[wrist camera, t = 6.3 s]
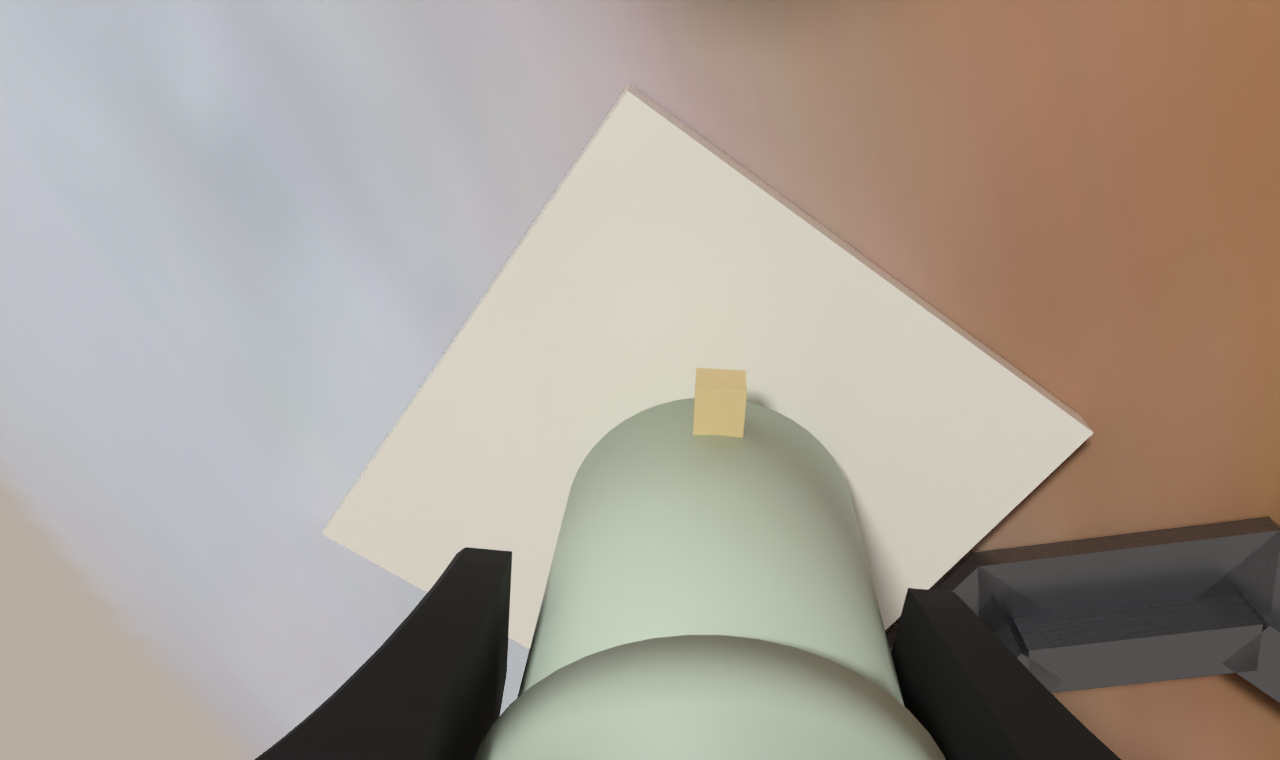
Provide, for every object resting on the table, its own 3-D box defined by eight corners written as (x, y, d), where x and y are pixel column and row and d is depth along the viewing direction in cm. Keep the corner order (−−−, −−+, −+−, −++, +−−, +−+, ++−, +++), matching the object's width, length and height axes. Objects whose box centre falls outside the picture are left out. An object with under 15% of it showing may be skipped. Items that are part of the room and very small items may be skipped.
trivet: (1079, 414, 16) (1093, 432, 16) (739, 743, 19) (741, 766, 19) (628, 83, 14) (627, 90, 13) (332, 514, 17) (322, 533, 17)
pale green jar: (850, 685, 17) (935, 1133, 11) (549, 665, 17) (454, 1092, 11) (897, 363, 15) (1046, 694, 8) (546, 345, 15) (421, 652, 8)
